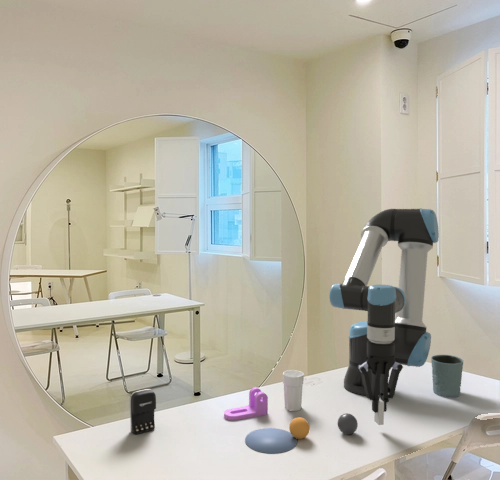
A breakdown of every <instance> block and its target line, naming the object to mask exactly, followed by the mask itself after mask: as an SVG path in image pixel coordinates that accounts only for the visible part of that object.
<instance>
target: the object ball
mask: <svg viewBox="0 0 500 480" xmlns="http://www.w3.org/2000/svg"><path fill="white" fill-rule="evenodd" d="M288 429H289V432H290V433H291V434H292V436H293V437H295V438H296V439H297V440H301V439H304V438H306V437H307V436H308V435H309V433H310V424H309V422H308V421H307V420H306V418H304V417H299V416H298V417H295V418H293V419H292V420H291V421H290V424H289V427H288Z"/></svg>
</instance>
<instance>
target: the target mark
mask: <svg viewBox="0 0 500 480" xmlns="http://www.w3.org/2000/svg"><path fill="white" fill-rule="evenodd" d="M244 439H245V441H244V442H245V445H246V446H247V447H248V448H250V449H252V450H253V451H256V452H259V453H264V454H279V453H280V454H282V453H284V452H288V451H291V450H293V449H294V448H295V447H296V445H297V443H298V439H297V438H295V437H293V436H292V434H291V433H290V431H288V430H285V429H282V428H276V427H265V428H258V429H255V430H253V431H250V432H249V433H248V434H246V436H245V438H244Z"/></svg>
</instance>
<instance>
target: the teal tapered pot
mask: <svg viewBox="0 0 500 480" xmlns="http://www.w3.org/2000/svg"><path fill="white" fill-rule="evenodd" d="M430 359H431V367H432V368H431V369H432V370H431V374H432V391H433V393H434V394H435V395H436V396H439V397H442V398H449V399H453V398H458V397H460V395H461V387H462V376H463V368H464V360H463V358H461V357H458V356H456V355H450V354H434V355H432V356H431V358H430Z"/></svg>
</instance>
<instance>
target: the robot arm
mask: <svg viewBox="0 0 500 480" xmlns="http://www.w3.org/2000/svg"><path fill="white" fill-rule="evenodd" d="M439 231H440V230H439V223H438V217H437V215H436V212H435V211H434V210H433V209H431V208H428V209H427V208H389V209H384V210H382V211H380V212H378V213H377V214H375V215H374V216H372V217H371V218H370V219H369V220H368V221H367V222H366V223H365V225H364V226H363V229H362V231H361V233H360V238H361V240H360V242H359V245H358V247H357V249H356V251H355V254H354V256H353V258H352V261H351V262H350V265H349V267H348V270H347V272H346V274H345V276H344V277H343V281H342V283H334V284H332V286H331V287H330V289H329V302H330V305H331V306H332V307H334V308H338V309H342V310H353V311H365V312H367V321H365V320H364V321H359V322H358V321H357V322H355V323H353V324H351V326H350V328H349V336H348V341H349V348H348V349H349V352H348V353H349V354H348V367H347V370H346V373H345V375H344V378H343V388H344V389H345V390H347V391H348V392H350V393H354V394H357V395H362V396H363V395H364V396H365V397H366V398H367V399H368V400H370V401H371V410H372V412H374V415H373V416H374V417H373V419H374V422H375V423H376V424H377V425H378V426H384V422H385V421H384V420H385V412H387V408H388V407H387V406H388V405H387V404H388V402H389V401H390V400H389V399H391V400H392V399H393V398H394V396H395V392H396V389H397V385H398V381H399V377H400V373H401V372H402V370H403V368H404V366H407V367H416V368H418V367H419V368H420V367H423V366H424V365H425V364H426V362H427V359H428V357H429V353H430V349H431V343H432V342H431V341H432V334H431V332H428V331H427V325H426V324H425V323H424V322H423V315H424V302H425V291H426V277H427V276H426V275H427V264H428V253H429V251H431V250H433V247H434V244H436V243H438V242H439V235H440V234H439ZM390 241H391V242H397V247H398V248H400V250H401V255H400V264H399V265H400V268H399V277H398V278H399V279H398V286H393V285H390V284H371V285H370V286H368V284H369V282H370V279H371V276H372V274H373V271H374V269H375V266H376V264H377V261H378V258H379V256H380V253H381V252H382V249H383V247H385V246H386V245H387V244H388V242H390Z"/></svg>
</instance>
